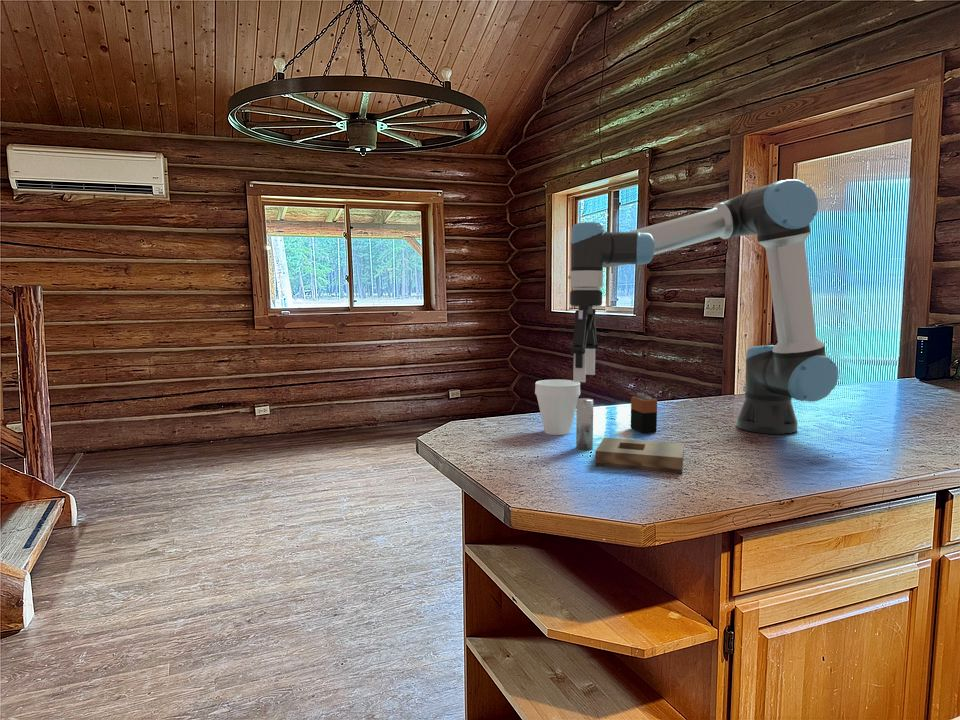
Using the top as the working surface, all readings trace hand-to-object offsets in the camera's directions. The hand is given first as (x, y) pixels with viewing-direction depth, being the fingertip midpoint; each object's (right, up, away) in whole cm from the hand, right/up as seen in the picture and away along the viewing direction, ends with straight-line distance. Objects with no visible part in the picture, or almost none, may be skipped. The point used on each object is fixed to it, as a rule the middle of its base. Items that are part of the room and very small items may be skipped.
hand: (584, 378), depth 147 cm
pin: (0, -17, +2) cm, 17 cm away
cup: (-4, -16, +19) cm, 25 cm away
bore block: (+11, -18, -11) cm, 24 cm away
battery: (+20, -15, +20) cm, 32 cm away
